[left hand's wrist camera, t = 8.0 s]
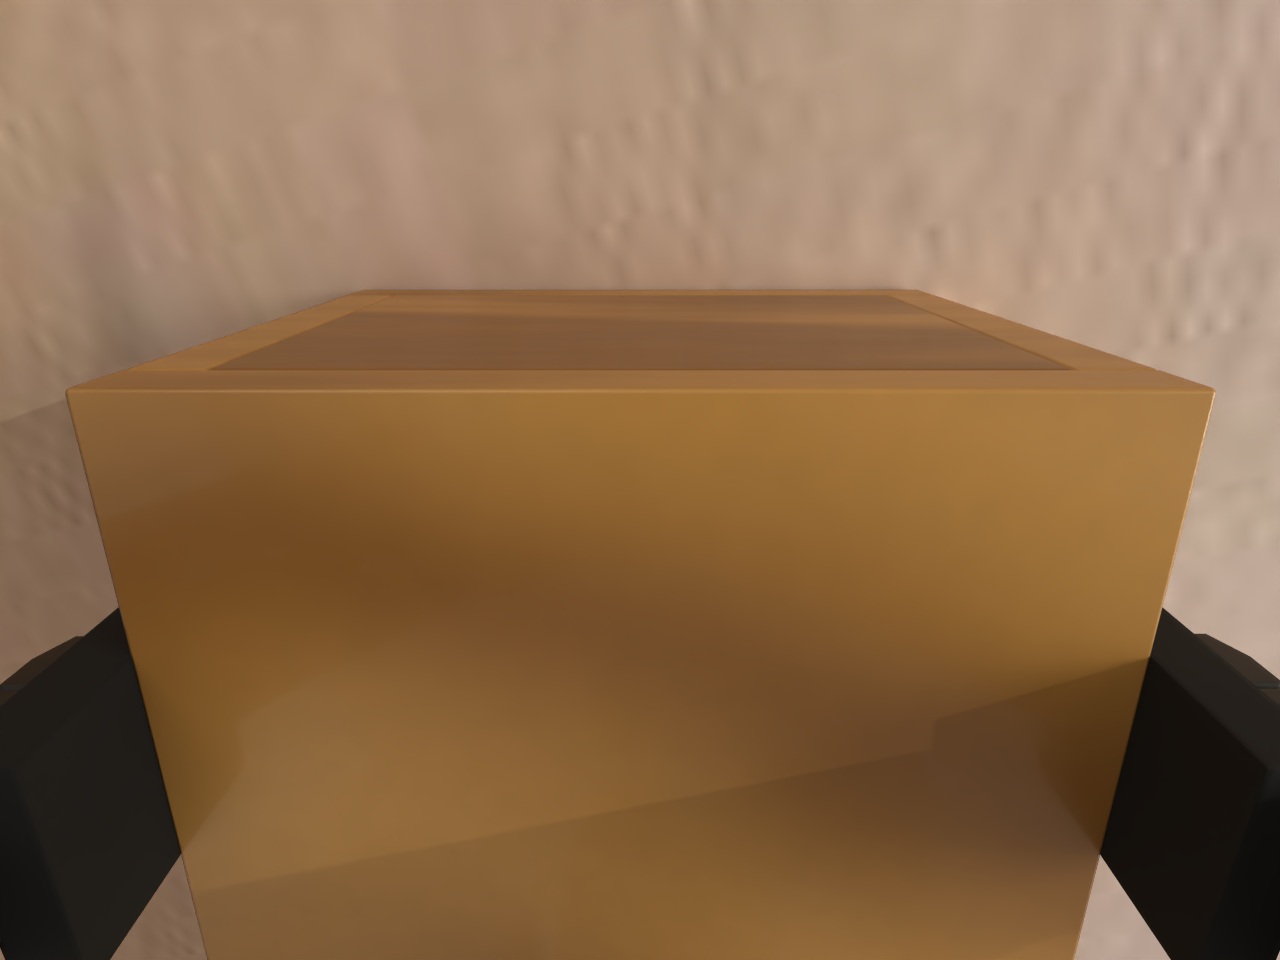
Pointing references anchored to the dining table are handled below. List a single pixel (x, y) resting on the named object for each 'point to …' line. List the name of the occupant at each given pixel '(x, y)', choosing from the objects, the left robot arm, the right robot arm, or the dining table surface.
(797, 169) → the dining table surface
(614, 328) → the cabinet
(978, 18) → the dining table surface
